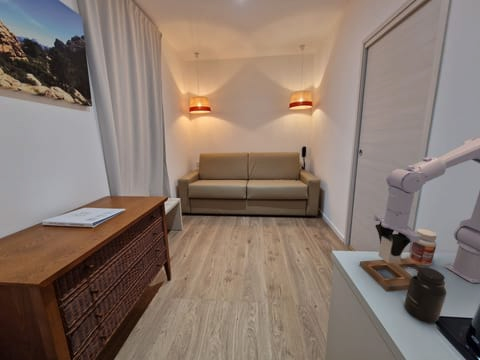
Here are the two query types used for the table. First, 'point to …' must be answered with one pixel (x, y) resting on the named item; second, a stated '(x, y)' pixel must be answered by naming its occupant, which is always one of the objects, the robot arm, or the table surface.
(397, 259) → the beige rectangular block
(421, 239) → the pill bottle
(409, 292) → the supplement bottle
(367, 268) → the wooden shape sorting board
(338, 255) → the table surface
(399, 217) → the robot arm
